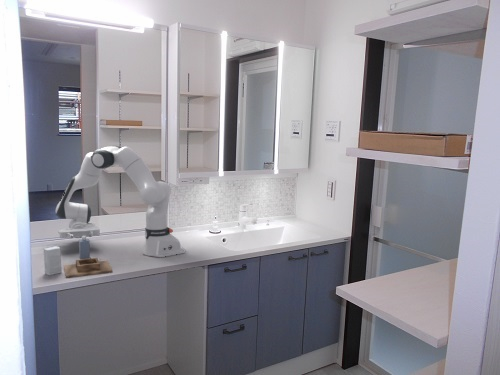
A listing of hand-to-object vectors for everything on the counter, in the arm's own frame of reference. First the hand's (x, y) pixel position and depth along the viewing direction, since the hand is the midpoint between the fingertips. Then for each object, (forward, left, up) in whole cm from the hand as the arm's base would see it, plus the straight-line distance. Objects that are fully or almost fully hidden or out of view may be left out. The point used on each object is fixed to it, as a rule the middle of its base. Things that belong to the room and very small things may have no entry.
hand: (81, 236), depth 219 cm
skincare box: (+15, +25, -10) cm, 31 cm away
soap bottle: (0, +12, -10) cm, 16 cm away
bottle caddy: (0, +26, -10) cm, 28 cm away
